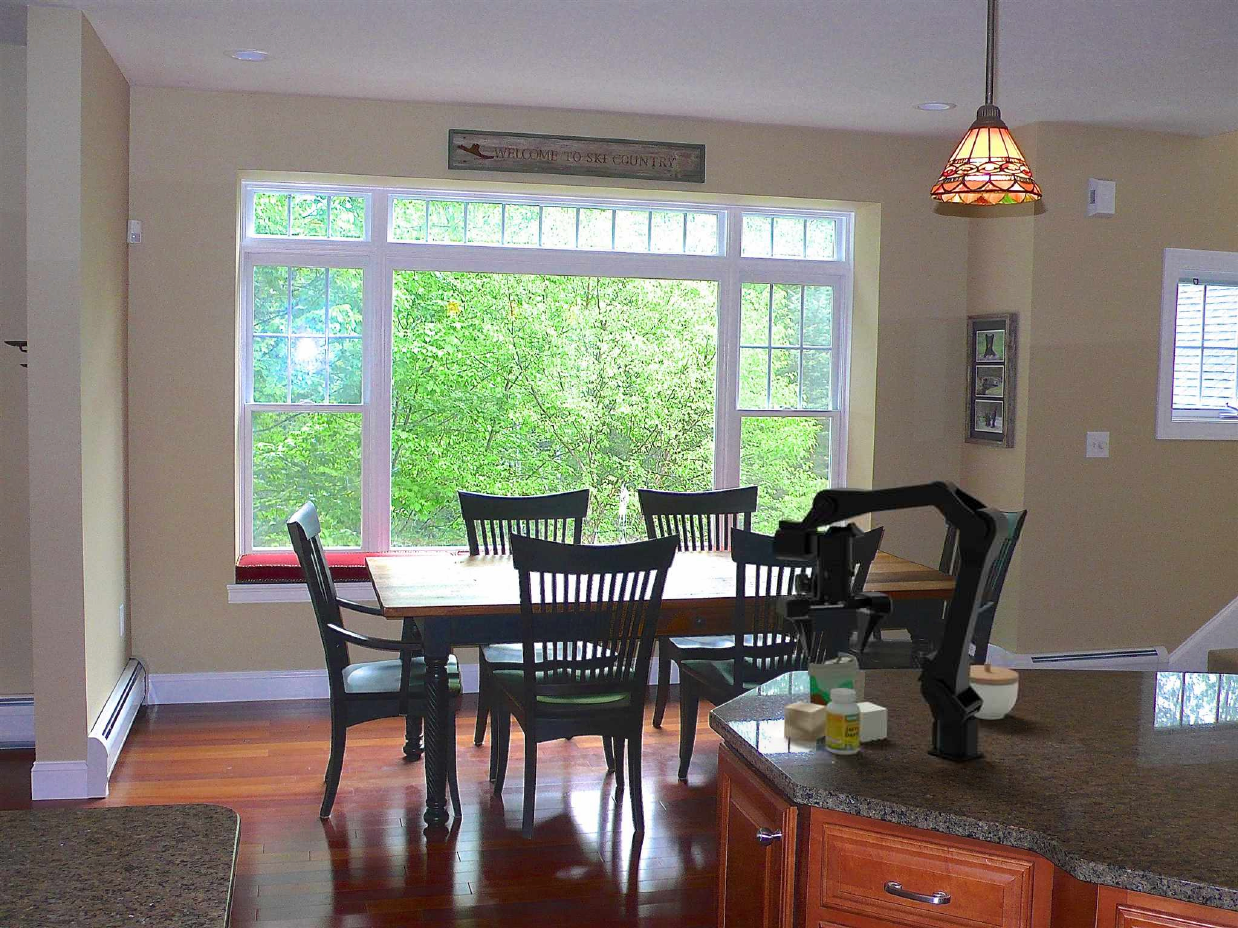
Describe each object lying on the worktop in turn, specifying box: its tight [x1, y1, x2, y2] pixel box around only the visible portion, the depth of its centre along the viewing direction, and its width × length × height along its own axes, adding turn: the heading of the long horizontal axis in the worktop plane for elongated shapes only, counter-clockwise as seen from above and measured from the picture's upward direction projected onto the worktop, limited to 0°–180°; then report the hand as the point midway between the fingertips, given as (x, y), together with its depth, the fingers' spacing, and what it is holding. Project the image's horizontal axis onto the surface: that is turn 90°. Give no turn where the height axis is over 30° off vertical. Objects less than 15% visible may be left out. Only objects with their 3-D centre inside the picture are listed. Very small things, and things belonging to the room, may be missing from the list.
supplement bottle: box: [825, 688, 860, 756], centre depth 186 cm, size 5×5×10 cm
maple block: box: [783, 700, 826, 743], centre depth 193 cm, size 5×5×5 cm
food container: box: [807, 651, 860, 706], centre depth 206 cm, size 12×6×10 cm, turn 143°
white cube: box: [855, 701, 888, 743], centre depth 194 cm, size 5×5×5 cm
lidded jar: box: [970, 661, 1020, 720], centre depth 207 cm, size 11×11×9 cm
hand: (834, 655), depth 196 cm, fingers open, 9 cm apart
